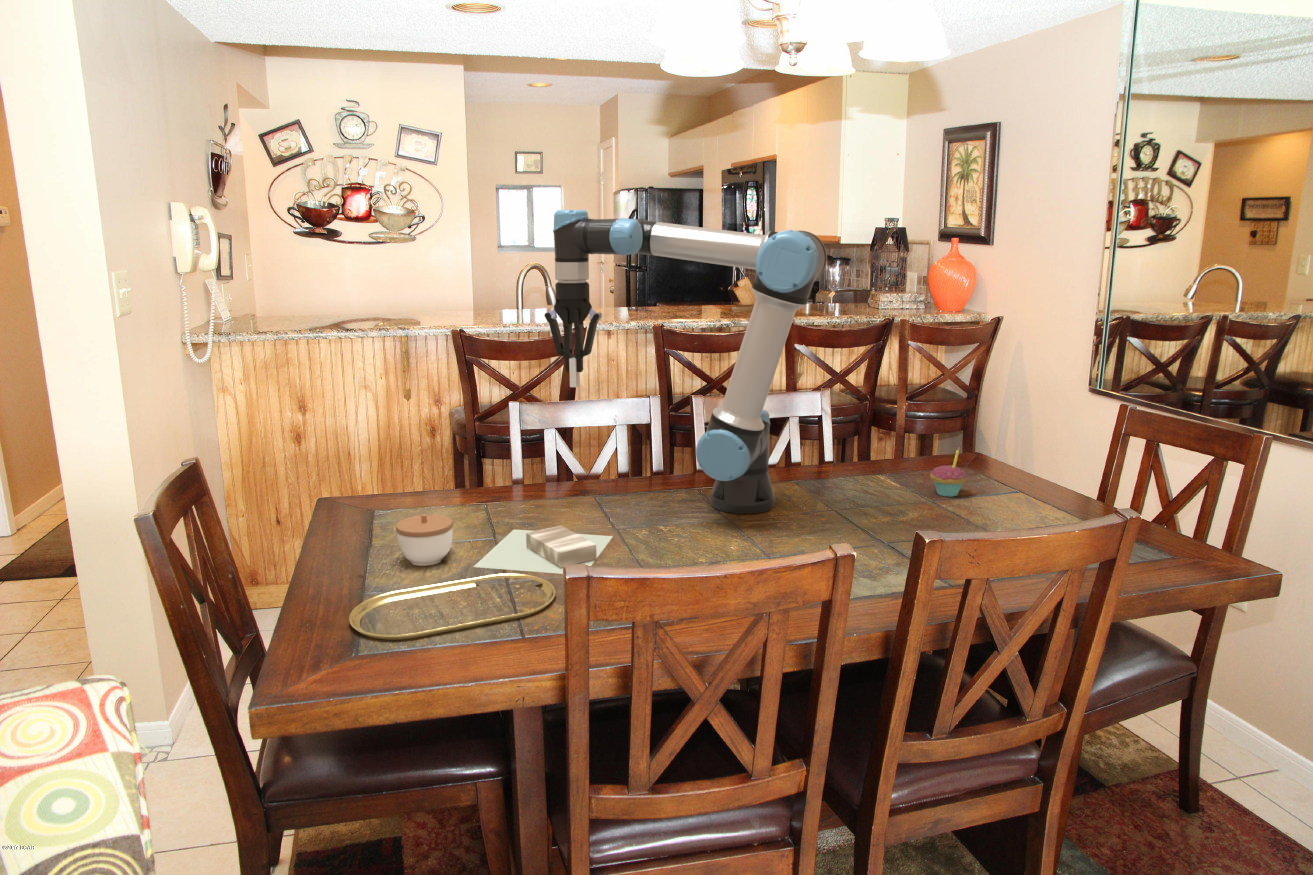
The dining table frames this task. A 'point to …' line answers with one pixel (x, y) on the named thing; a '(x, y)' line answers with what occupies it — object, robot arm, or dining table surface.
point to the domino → (561, 546)
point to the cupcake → (948, 478)
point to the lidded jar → (425, 538)
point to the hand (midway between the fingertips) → (574, 386)
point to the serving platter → (440, 588)
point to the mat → (529, 554)
